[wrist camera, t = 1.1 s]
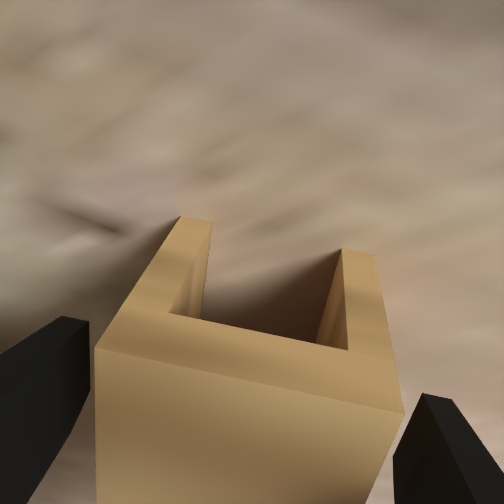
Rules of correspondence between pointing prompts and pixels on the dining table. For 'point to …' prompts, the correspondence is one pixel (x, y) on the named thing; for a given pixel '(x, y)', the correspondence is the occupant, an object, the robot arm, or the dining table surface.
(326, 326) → the ochre u-shaped block
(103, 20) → the dining table surface
